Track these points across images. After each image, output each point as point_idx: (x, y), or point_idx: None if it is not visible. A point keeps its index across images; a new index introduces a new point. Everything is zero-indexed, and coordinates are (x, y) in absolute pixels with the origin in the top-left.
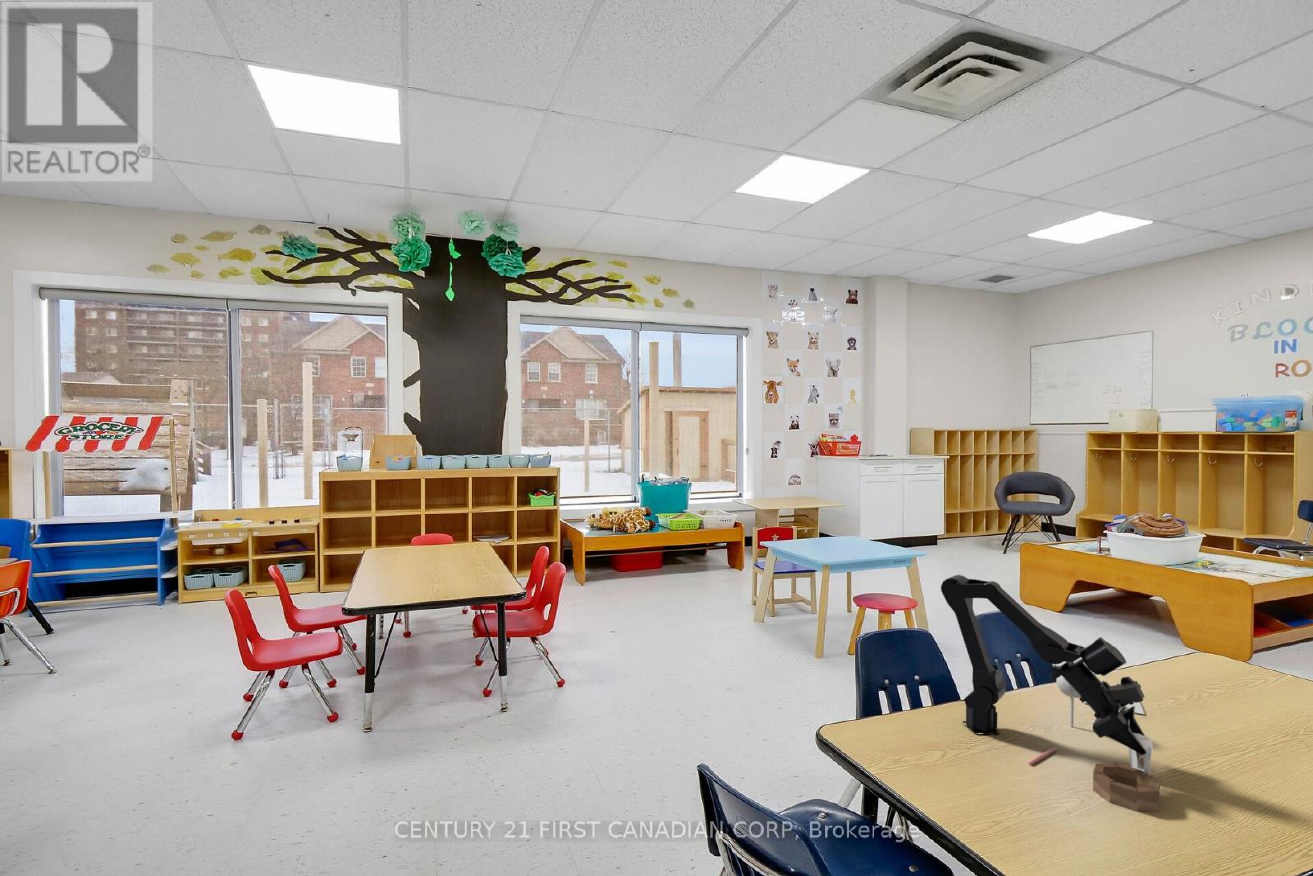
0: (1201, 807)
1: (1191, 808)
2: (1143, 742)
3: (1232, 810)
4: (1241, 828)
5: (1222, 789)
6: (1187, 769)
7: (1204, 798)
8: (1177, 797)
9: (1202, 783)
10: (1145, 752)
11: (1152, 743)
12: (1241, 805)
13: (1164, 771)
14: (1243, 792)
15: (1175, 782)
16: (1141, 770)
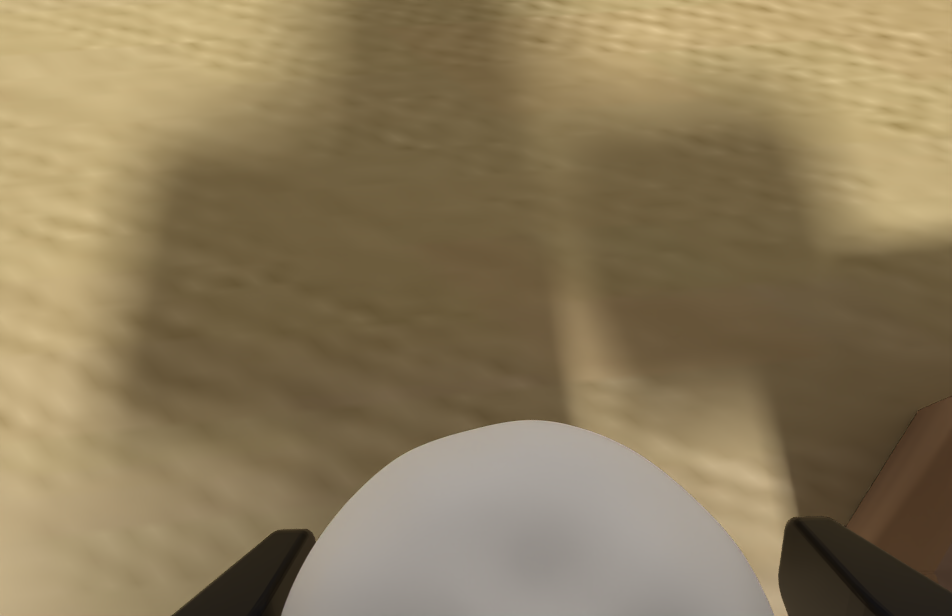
0: (716, 182)
1: (801, 224)
2: (732, 585)
3: (586, 64)
4: (804, 17)
5: (296, 126)
6: (74, 314)
7: (541, 184)
8: (695, 313)
9: (281, 216)
10: (830, 528)
11: (553, 422)
12: (466, 42)
13: (228, 448)
14: (258, 50)
15: (405, 355)
16: (942, 568)
